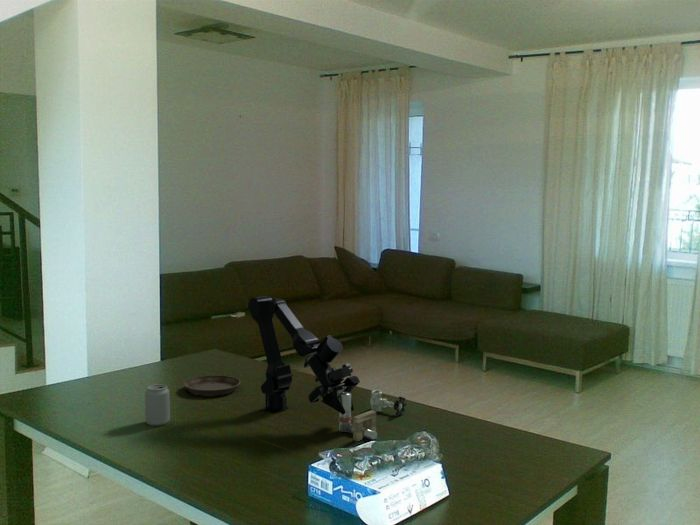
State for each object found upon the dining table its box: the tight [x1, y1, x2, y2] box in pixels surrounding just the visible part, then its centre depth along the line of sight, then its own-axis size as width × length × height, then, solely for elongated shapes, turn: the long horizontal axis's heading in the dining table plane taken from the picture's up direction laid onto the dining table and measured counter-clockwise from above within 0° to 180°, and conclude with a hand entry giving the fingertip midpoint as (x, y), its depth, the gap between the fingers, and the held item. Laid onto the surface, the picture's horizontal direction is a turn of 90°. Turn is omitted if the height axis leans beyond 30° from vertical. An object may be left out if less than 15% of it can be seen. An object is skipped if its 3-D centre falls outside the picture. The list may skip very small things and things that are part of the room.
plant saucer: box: [183, 374, 241, 397], centre depth 252 cm, size 21×21×3 cm
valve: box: [369, 389, 407, 417], centre depth 228 cm, size 7×7×12 cm
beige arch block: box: [352, 410, 377, 442], centre depth 204 cm, size 2×8×7 cm, turn 139°
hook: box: [337, 392, 379, 440], centre depth 206 cm, size 14×4×12 cm, turn 49°
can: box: [144, 383, 171, 427], centre depth 216 cm, size 8×8×12 cm
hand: (348, 412), depth 208 cm, fingers closed on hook, 4 cm apart
